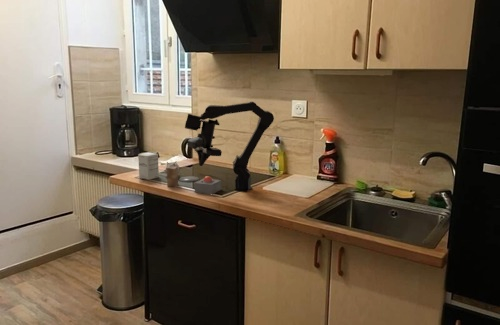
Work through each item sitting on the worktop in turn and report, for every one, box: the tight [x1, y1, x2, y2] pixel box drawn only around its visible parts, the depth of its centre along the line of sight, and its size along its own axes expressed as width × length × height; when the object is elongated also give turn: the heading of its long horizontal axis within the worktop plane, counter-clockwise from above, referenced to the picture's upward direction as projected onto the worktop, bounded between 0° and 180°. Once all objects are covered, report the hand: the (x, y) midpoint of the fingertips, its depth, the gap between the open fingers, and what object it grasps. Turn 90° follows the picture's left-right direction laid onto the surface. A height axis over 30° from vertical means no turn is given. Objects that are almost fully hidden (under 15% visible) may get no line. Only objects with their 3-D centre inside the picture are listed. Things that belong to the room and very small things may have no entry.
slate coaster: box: [178, 175, 200, 183], centre depth 212 cm, size 10×10×1 cm
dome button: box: [203, 175, 213, 183], centre depth 191 cm, size 4×4×6 cm
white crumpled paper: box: [163, 161, 183, 178], centre depth 217 cm, size 9×8×10 cm
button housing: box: [193, 178, 222, 195], centre depth 191 cm, size 9×9×4 cm
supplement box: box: [137, 151, 160, 181], centre depth 214 cm, size 7×7×13 cm
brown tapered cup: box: [166, 166, 179, 188], centre depth 199 cm, size 4×4×9 cm
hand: (200, 165), depth 190 cm, fingers closed
